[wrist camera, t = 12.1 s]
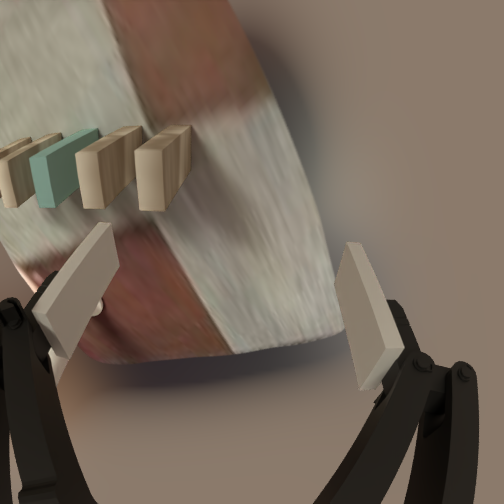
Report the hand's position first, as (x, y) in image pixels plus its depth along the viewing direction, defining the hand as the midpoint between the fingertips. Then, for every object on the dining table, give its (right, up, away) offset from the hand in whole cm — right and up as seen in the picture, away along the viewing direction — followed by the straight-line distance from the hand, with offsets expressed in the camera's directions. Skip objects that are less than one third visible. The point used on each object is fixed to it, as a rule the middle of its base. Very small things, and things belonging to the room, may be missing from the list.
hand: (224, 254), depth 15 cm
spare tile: (-17, +12, +15) cm, 26 cm away
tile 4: (-23, +12, +15) cm, 30 cm away
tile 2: (-12, +11, +15) cm, 22 cm away
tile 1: (-6, +11, +15) cm, 20 cm away
